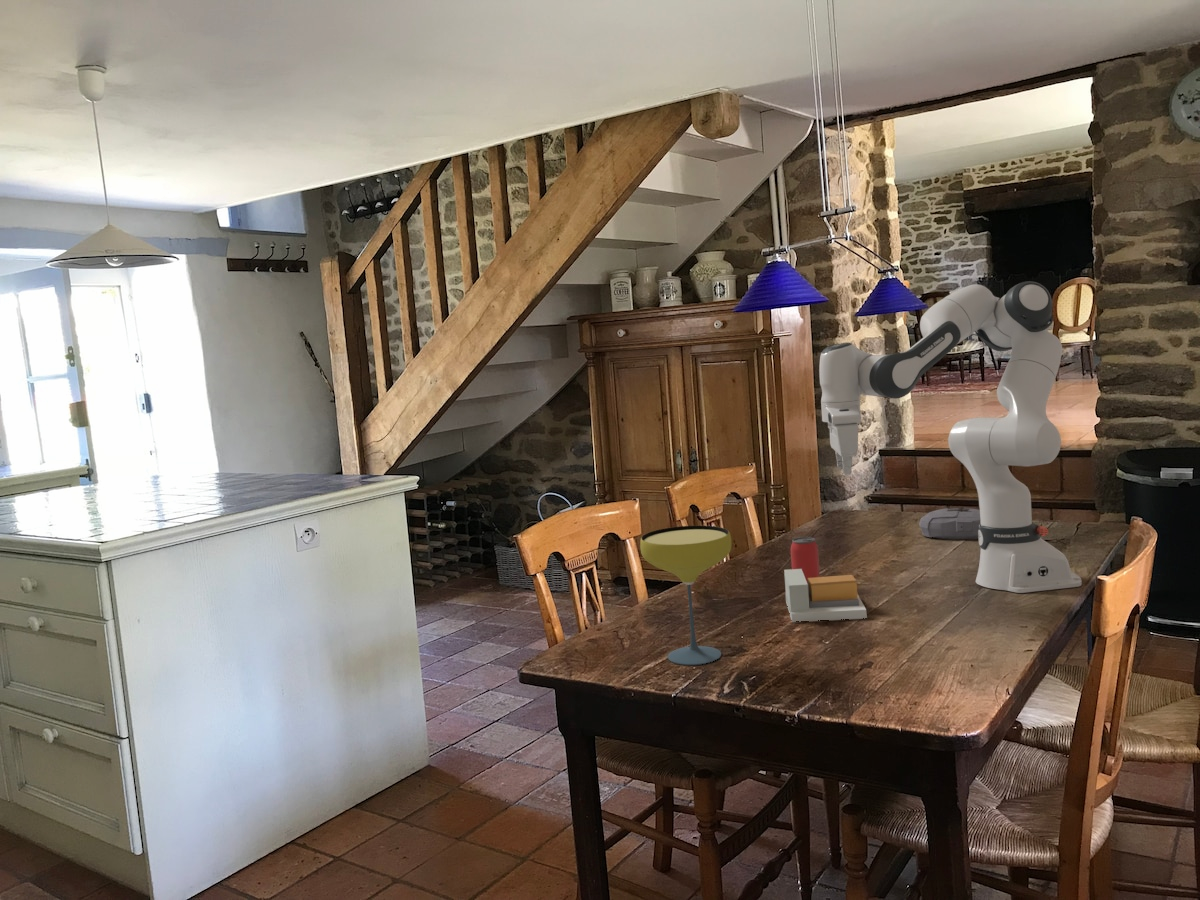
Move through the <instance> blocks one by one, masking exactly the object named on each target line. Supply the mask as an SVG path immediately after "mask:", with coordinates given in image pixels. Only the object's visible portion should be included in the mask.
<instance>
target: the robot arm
mask: <svg viewBox="0 0 1200 900" xmlns="http://www.w3.org/2000/svg"><path fill="white" fill-rule="evenodd" d="M1052 310H1053V299H1052V296H1051V294H1050V291H1049V290H1048V289H1047V288H1046V287H1045V286H1044V285H1042V284H1041V283H1039V282H1037V281H1031V280H1029V281H1022V282H1019V283H1018V284H1015V285H1014V286H1013V287H1011V288H1009V290H1007V292H1006V294H1004V295H1003V296H1002V297H1001V298H1000V297H997V296H996V295H994V294H993V292H992V291H991V290H990V289H989V288H988V287H986V286H985V285H982V284H976V283H975V284H968V285H967V286H964V287H962V288H960V289H957V290H955V291H954V292H951V293H950V294H948V295H946V296H944V298H942V299H940V300H939V301H937V302H935V303H934V304H933V305H932V306H931V307H929V308H928V309H927V310H926V311H925V312H924V313H923V315H922V316H921V317H920V322H919V329H920V333H921V336H922V338H921V339H919V340H918V341H917V342H916V343H915V344H913V345H912V346H911V347H910V348H908V349H907V350H905V351H903V352H900V353H899V352H898V353H897V352H896V353H891V354H873V353H870V352H866V351H864V350H862V349H860V348H858V347H856V346H855V344H853V343H852V342H842V343H836V344H833V345H829V346H827V347H825V348H824V349H823V350H821V352H820V357H819V369H818V372H819V373H818V375H819V385H820V388H821V392H822V393H821V399H820V404H821V405H820V407H821V422H823V423H827V428H828V430H829V443H830V444H829V445H830V448H831V449H833V450H834V452H835V457H836V458H835V459H836V465H837V468H838V469H839V470H842V473H843V475H845V476H849V475H851V474H852V473H853V471H852V464H853V457H857V455H858V449H859V447H858V446H859V424H860V423H861V419H862V418H861V417H862V416H861V413H862V412H861V400H860V396H861V395H862V396H872V397H884V398H890V399H901V398H904V397H906V396H907V395H909V394H910V393H911V392H912V391H913V389H914V388H915V387H916V385H917V383H918V382H919V381H920V378H921V377H922V376H923V375H924V374H925V373H926V372H927V371H928V370H930V368H932V367H933V366H934V365H935V364H937V363H938V362H939V361H940V360H941V359H943V357H945V356H947V355H948V353H950V352H951V351H952V350H953V349H954V348H955V347H956V346H957V345H958V344H960V343H962V342H963V341H965V339H967V338H968V337H970V336H971V335H972V334H974V333H975V335H976V336H977V337H978V338H980V340H981V342H983V344H984V345H986V347H988V348H989V349H992V350H993V351H997V352H1008V351H1011V355H1010V358H1009V359H1008V362H1007V365H1006V367H1005V369H1004V372H1003V374H1002V376H1001V379H1000V381H999V382H998V383H999V384H998V386H997V389H996V398H997V400H998V402H999V404H1000V405H1001V406H1002V407H1003V408H1004V409H1005V410H1007V411H1008V412H1007V415H1006V416H1004V417H978V416H977V417H973V418H967V419H963V420H962V419H961V420H959V421H957V422H956V423H955V424H953V426H952V427H951V429H950V431H949V434H948V443H947V444H948V448H949V450H950V453H951V454H952V455H953V457H954V458H955V459H957V460H958V461H959V462H960V463H961V464H962V465H963V466H964V467H965V468H966V469H967V471H968V473H969V474H970V476H971V477H972V480H973V482H974V485H975V487H976V491H977V496H978V507H979V510H980V523H979V530H978V537H979V539H978V544H979V545H978V546H979V548H980V552H979V554H980V556H979V562H978V563H979V565H978V568H977V574H976V578H975V583H976V584H977V585H979V586H981V587H984V588H988V589H994V590H1000V591H1008V592H1011V593H1018V594H1025V593H1032V592H1041V591H1043V592H1044V591H1051V590H1052V591H1053V590H1059V589H1069V588H1076V587H1077V588H1078V587H1081V586H1082V585H1083V583H1082V578H1081V577H1080V576H1079V575H1078V574H1077V573H1076V572H1073V571H1071V567H1070V563H1069V561H1068V558H1067V557H1066V555H1065V554H1064V553H1063V552H1061V551H1060V550H1059V549H1058V548H1056V547H1055V546H1053V545H1051V544H1050V543H1049V542H1047V541H1046V540H1044V539H1042V538H1041V537H1046V536H1047V535H1048V534H1049V529H1048V528H1047V527H1045V526H1044V525H1039V524H1037V523H1035V522H1033V519H1032V497H1031V492H1030V489H1029V488H1028V486H1026V484H1025V483H1023V482H1021V481H1020V480H1018V479H1017V478H1016V477H1015V476H1014V475H1013V473H1012V472H1011V471H1010V469H1009V466H1013V467H1014V466H1015V467H1016V466H1017V467H1035V466H1041V465H1047V464H1050V463H1052V462H1054V460H1055V459H1056V458H1057V456H1058V455H1059V453H1060V450H1061V445H1062V438H1061V434H1060V431H1059V430H1058V428H1057V426H1056V425H1055V424H1054V423H1053V422H1052V421H1051V420H1050V419H1049V418H1048V415H1047V411H1046V409H1047V403H1048V399H1049V397H1050V394H1051V391H1052V388H1053V386H1054V384H1055V380H1056V377H1057V375H1058V371H1059V369H1060V364H1061V360H1062V353H1063V345H1062V342H1061V340H1060V339H1059V338H1058V337H1057V336H1056V335H1055V334H1053V333H1051V332H1050V331H1048V328H1049V327H1050V326H1051V325H1052V324H1053V322H1054V318H1053V311H1052Z"/></svg>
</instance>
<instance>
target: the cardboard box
mask: <svg viewBox="0 0 1200 900" xmlns="http://www.w3.org/2000/svg"><path fill="white" fill-rule="evenodd" d="M857 583H858V580H857V579H856V578H855V577H854V575H852V574H843V575H831V576H820V577H814V578H808V594H809V600H810V601H825V600H843V599H858V596H859V594H858V584H857ZM857 594H858V595H857Z"/></svg>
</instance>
